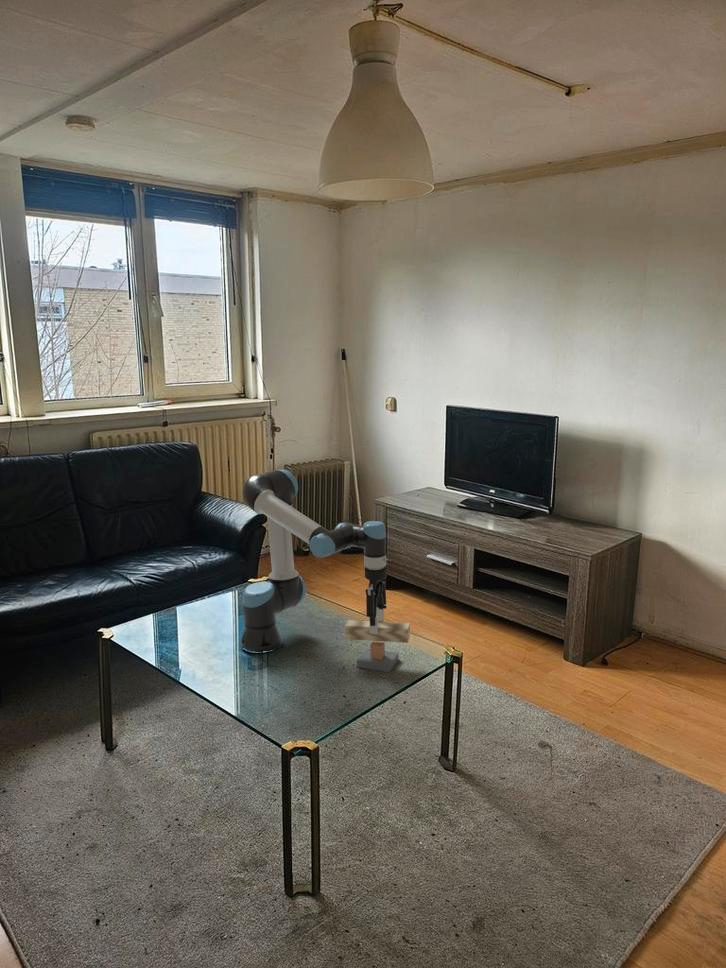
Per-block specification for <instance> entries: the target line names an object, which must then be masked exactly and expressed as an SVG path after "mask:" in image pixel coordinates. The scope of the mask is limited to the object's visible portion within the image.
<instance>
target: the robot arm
mask: <svg viewBox="0 0 726 968" xmlns="http://www.w3.org/2000/svg"><path fill="white" fill-rule="evenodd" d="M298 491H299V485H298V481H297V478H296V477H295V476H294V474H292V473H291V471H289V470H286V469H284V468H283V469H274V470H270V471H266V472H262V473H258V474H254V475H251V476H250V477H248V478H247V479H246V481H244V483H243V485H242V491H241V493H242V494H241V495H242V499H243V501H244V503H245V504H246V506H247V507H248V508H249V509H251V510H252V511H253V512H254V513H257V514H259V515H262V514H263V515H265V516H266V517H267V518H266V519H267V529H268V538H269V540H268V541H269V552H270V562H271V563H270V564H271V572H270V573H268V581H259V582H253V583H251V584H249V585H248V586H246V587H245V588H244V590H243V591H242V592H243V593H242V605H243V619H244V620H243V621H244V628H243V629H244V630H243V632H242V636H241V640H240V646H241V645H242V647H243V648H245V649H247V650H250V651H255V652H263V651H270V650H274V649H277V648H278V647H279V648H281V646H282V637H281V633H280V632H279V631H280V630H279V628H278V626H277V619H276V615H277V614H279V613H281V612H282V613H283V612H284V611H286V610H288V609H291V608H294V607H296V606H297V605H298V604H300V603H302V602H303V601H304V599H305V597H306V594H307V585H306V583H305V581H304V579H303V577H302V576H301V575H300V574H299V572H298V571H297V570H296V569H295V561H294V551H293V536H292V534H293V535H295V536H296V537H297V538H299V539H300V540H302V541H303V542H305V543H307V545H308V547H309V550H310V552H311V553H312V555H313V556H314V557H316V558H320V559H321V558H322V559H323V558H326V557H329V556H332V555H333V554H337V553H339V552H341V551H344V550H346V549H349V548H352V547H356V548H360V549H363V554H364V555H363V557H364V559H363V563H364V564H363V565H364V578H365V579H366V580H368V581H369V582H368V588H366V589H365V595H366V596H365V597H366V599H365V601H366V603H365V604H366V617H367V618H369V619H368V621H370V634H378V622H385V610H386V609H387V591H386V589H387V588H386V587H387V586H386V582H387V576H388V574H387V572H388V571H387V570H388V569H387V561H388V558H387V548H386V547H387V531H386V524H385V523H384V522H382V521H380V520H369V521H366V522H365V523H363V524H362V525H359V524H355V523H350V522H340V523H338V524H337V526H336V527H334V529H333V530H328V529H327V528H325V527H323V526H322V525H320V524H318V523H317V522H316V521H314V520H312V519H311V518H310V517H308V516H306V515H305V514H303V513H301V512H300V511H299V510H297V509H296V508H295V507H293V506H294V501H293V500H294V499H293V498H295V496H297V494H298ZM279 648H278V649H279ZM278 649H277V650H278ZM274 651H275V650H274Z"/></svg>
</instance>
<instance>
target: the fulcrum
mask: <svg viewBox="0 0 726 968" xmlns="http://www.w3.org/2000/svg"><path fill="white" fill-rule="evenodd" d="M385 642H386V641H371V644H369V648H366V649H365V650H364V651H363V652H362V654H361V655H360V656H359V657H358V658H357V659H356V668H362V669H365V670H366V669H367V670H373V671H380V672H385V673H386V672H387V673H390V672H391V670H392V669H393V668H394V667H395V665H396V664H397V663H398V661H399V652H395V651H394V652H393V651H388V650H387V651H386V649H385V648H386V647H385Z"/></svg>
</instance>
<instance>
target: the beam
mask: <svg viewBox="0 0 726 968" xmlns="http://www.w3.org/2000/svg"><path fill="white" fill-rule="evenodd" d="M410 627H411V624H410V622H408V623H407V622H390V621H384V622H378V634H370V621H369V620H353V619H352V620H351V619H347V621H346V622H345V625H344V636H345V638H344V640H351V641H352V640H355V641H369V642H370V641H371V642H373V641H380V642H387V643H388V642H390V643H406V644H408V643H409V641H410V637H411V635H410V634H411V633H410Z"/></svg>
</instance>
